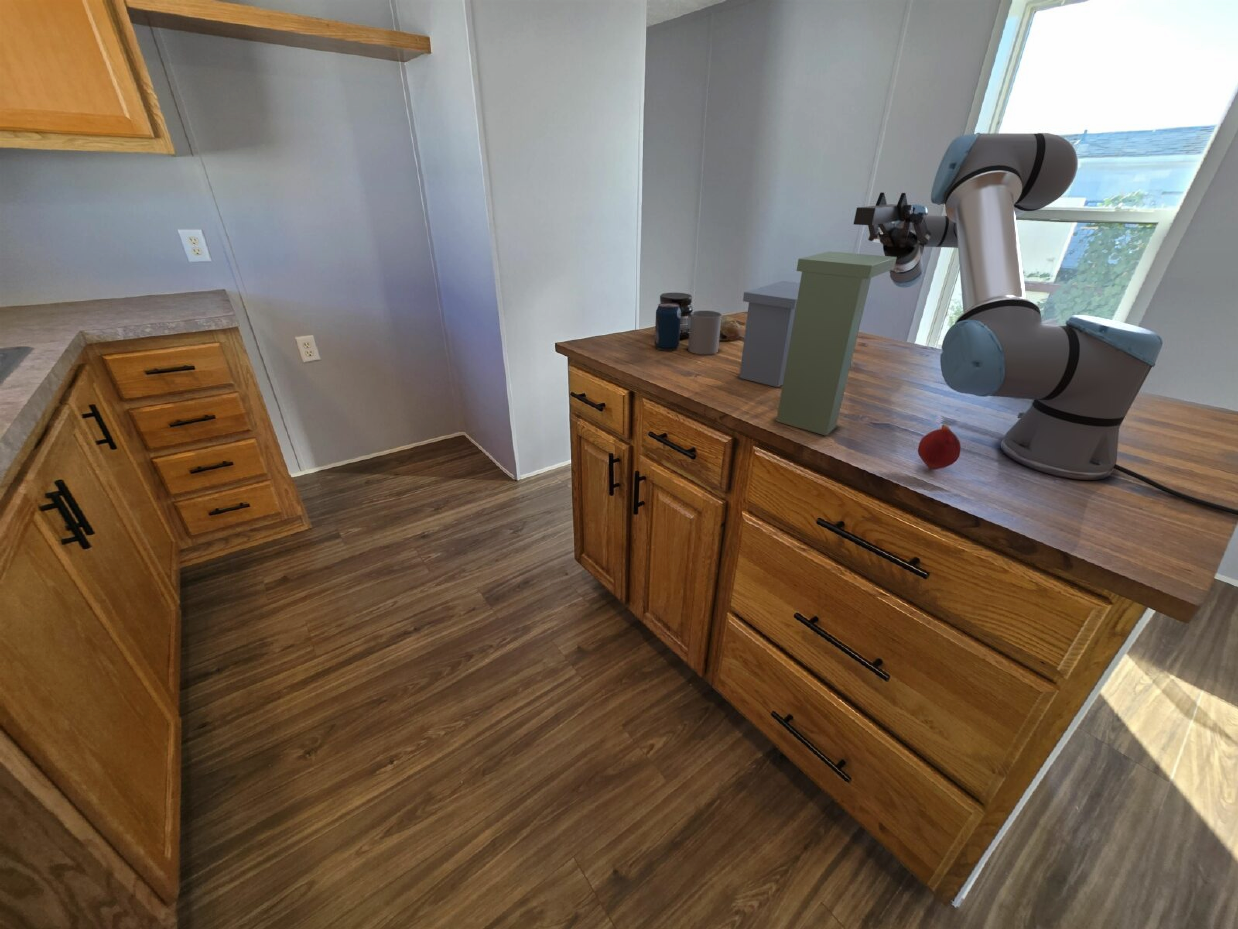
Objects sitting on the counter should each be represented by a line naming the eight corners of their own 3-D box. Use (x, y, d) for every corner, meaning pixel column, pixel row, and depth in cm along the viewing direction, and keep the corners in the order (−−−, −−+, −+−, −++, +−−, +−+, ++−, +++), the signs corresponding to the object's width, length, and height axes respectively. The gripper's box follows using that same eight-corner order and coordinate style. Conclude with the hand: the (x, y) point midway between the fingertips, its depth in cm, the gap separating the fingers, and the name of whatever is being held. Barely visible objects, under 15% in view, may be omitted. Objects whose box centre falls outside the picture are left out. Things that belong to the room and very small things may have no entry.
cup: (717, 355, 138) (721, 318, 133) (687, 353, 139) (689, 316, 134) (718, 346, 145) (722, 311, 140) (689, 345, 146) (692, 309, 142)
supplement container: (663, 329, 161) (665, 290, 155) (695, 333, 157) (698, 293, 152) (651, 337, 153) (652, 296, 147) (684, 342, 149) (687, 300, 143)
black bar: (903, 219, 112) (907, 204, 111) (871, 225, 98) (875, 208, 96) (886, 219, 114) (890, 204, 113) (853, 224, 100) (856, 207, 98)
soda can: (683, 347, 144) (686, 304, 138) (669, 352, 140) (671, 308, 134) (664, 343, 148) (666, 300, 142) (649, 348, 144) (651, 304, 138)
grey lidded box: (814, 368, 129) (830, 286, 119) (780, 389, 115) (795, 299, 105) (770, 358, 135) (782, 280, 126) (733, 377, 122) (743, 291, 112)
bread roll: (705, 350, 154) (707, 329, 148) (706, 328, 160) (708, 307, 153) (738, 352, 153) (741, 331, 146) (738, 329, 159) (742, 308, 152)
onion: (952, 466, 84) (969, 423, 80) (951, 481, 80) (968, 436, 76) (914, 457, 87) (928, 415, 83) (910, 471, 83) (925, 427, 79)
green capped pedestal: (856, 414, 103) (896, 256, 88) (831, 437, 94) (871, 265, 79) (800, 400, 110) (828, 251, 95) (771, 419, 101) (798, 258, 86)
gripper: (932, 268, 121) (926, 218, 102) (861, 261, 131) (844, 214, 111) (945, 237, 121) (941, 181, 101) (872, 233, 130) (856, 180, 111)
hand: (890, 199), depth 106 cm, fingers closed on black bar, 3 cm apart
